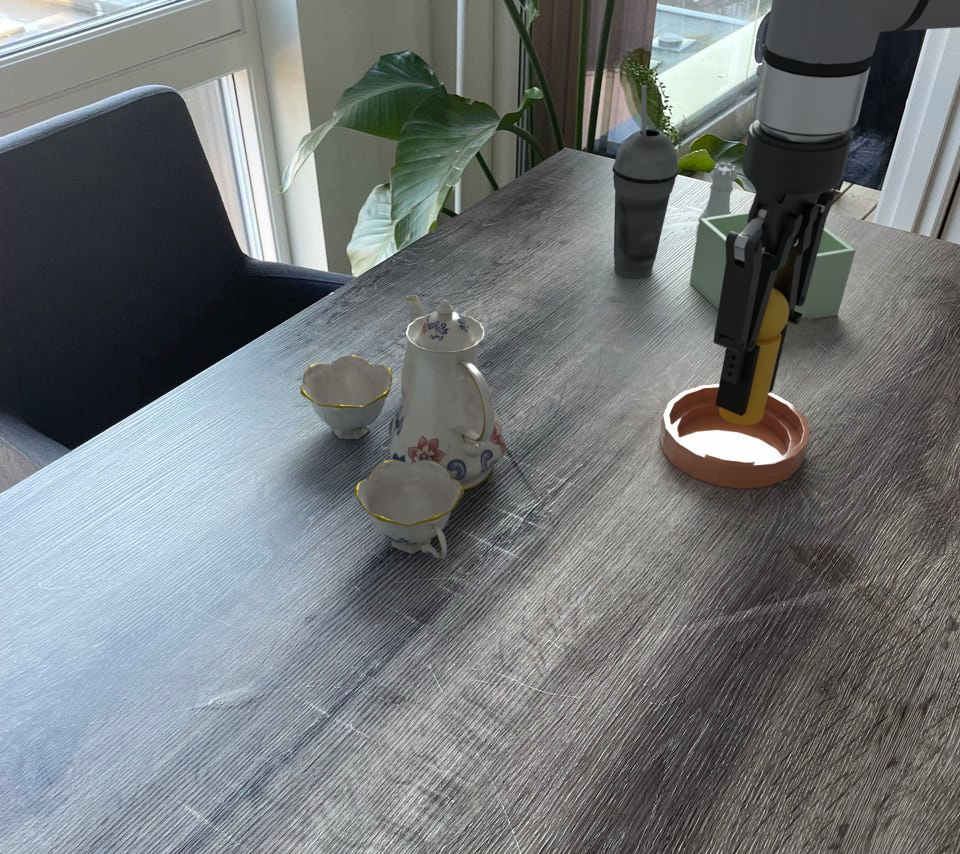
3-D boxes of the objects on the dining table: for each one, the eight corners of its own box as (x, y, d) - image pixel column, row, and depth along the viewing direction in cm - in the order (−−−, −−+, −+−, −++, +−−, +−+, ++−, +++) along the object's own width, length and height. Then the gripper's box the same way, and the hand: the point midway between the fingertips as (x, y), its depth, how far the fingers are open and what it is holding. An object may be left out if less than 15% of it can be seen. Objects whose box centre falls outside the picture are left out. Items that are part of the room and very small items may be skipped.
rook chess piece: (712, 221, 132) (723, 156, 126) (739, 233, 129) (751, 168, 124) (688, 231, 130) (698, 165, 124) (715, 243, 127) (727, 177, 122)
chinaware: (284, 429, 101) (241, 272, 89) (436, 373, 105) (415, 216, 93) (402, 606, 84) (369, 442, 72) (578, 531, 88) (576, 364, 76)
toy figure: (750, 396, 96) (776, 273, 88) (774, 421, 93) (804, 297, 85) (707, 404, 95) (730, 281, 87) (731, 430, 92) (757, 306, 84)
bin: (780, 267, 123) (795, 204, 118) (837, 315, 115) (856, 250, 110) (689, 282, 120) (699, 218, 115) (741, 332, 112) (755, 266, 107)
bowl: (755, 400, 103) (761, 373, 101) (830, 476, 94) (838, 449, 92) (635, 424, 100) (639, 397, 98) (701, 505, 91) (706, 478, 89)
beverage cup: (656, 288, 119) (683, 102, 105) (595, 278, 121) (613, 94, 106) (669, 261, 124) (696, 80, 110) (610, 251, 126) (629, 72, 111)
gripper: (811, 82, 83) (755, 346, 99) (696, 144, 74) (656, 423, 90) (900, 104, 79) (826, 373, 96) (791, 172, 70) (731, 456, 87)
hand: (744, 397), depth 93 cm, fingers closed on toy figure, 4 cm apart
